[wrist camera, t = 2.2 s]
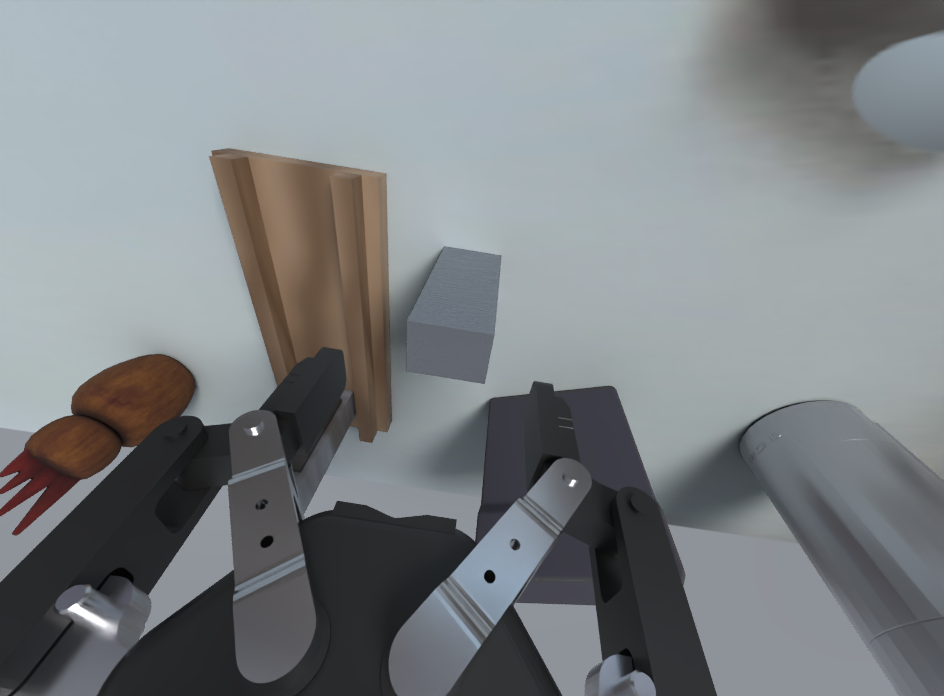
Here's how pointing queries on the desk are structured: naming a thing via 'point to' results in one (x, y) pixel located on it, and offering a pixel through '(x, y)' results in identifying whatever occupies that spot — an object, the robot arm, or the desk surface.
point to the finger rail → (316, 281)
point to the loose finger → (455, 317)
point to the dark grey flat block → (600, 452)
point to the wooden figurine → (98, 428)
